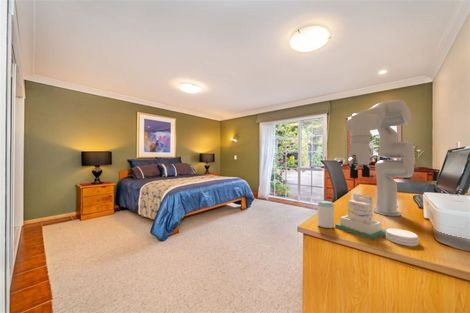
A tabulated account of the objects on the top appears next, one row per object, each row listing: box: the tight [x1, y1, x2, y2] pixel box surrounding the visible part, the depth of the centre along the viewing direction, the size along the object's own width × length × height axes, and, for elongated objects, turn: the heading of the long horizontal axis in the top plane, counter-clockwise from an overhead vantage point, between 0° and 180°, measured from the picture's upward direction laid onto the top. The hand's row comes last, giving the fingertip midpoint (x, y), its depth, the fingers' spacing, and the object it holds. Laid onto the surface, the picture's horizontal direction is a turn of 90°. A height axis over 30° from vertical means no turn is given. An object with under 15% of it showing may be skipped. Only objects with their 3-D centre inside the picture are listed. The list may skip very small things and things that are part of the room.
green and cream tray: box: [334, 214, 387, 241], centre depth 88 cm, size 12×16×5 cm
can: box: [317, 200, 335, 229], centre depth 93 cm, size 7×7×12 cm
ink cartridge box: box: [347, 193, 374, 225], centre depth 88 cm, size 9×5×15 cm, turn 33°
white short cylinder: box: [385, 227, 419, 247], centre depth 78 cm, size 10×10×4 cm
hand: (360, 177), depth 88 cm, fingers open, 9 cm apart
